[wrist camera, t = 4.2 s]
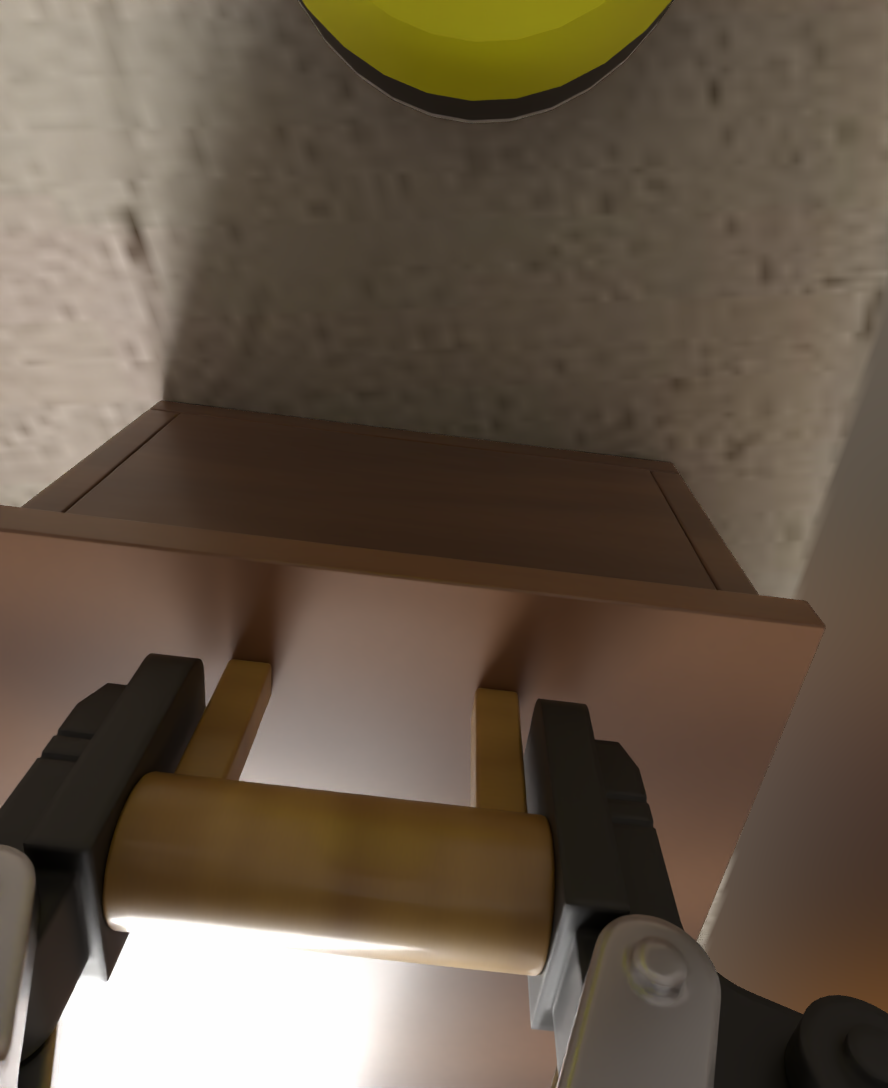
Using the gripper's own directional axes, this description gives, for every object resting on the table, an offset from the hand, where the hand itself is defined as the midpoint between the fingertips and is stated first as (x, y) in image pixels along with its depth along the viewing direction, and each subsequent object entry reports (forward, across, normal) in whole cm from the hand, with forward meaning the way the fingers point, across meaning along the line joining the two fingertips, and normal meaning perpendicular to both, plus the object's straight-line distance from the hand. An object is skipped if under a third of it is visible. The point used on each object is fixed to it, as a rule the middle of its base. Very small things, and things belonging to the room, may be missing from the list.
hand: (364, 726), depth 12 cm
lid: (+2, 0, +6) cm, 6 cm away
